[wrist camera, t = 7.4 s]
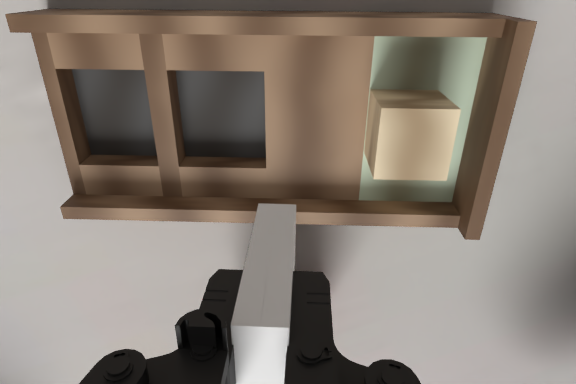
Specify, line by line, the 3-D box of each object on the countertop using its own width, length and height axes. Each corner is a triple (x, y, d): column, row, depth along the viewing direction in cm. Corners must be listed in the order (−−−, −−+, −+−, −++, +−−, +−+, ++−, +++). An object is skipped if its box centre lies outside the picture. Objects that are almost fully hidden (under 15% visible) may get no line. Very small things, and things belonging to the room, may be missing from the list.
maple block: (438, 90, 27) (461, 109, 23) (427, 153, 30) (446, 180, 26) (370, 89, 28) (381, 108, 24) (364, 152, 30) (373, 179, 26)
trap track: (491, 12, 27) (537, 21, 22) (451, 198, 34) (479, 239, 29) (47, 8, 28) (-12, 16, 23) (91, 190, 35) (52, 229, 29)
